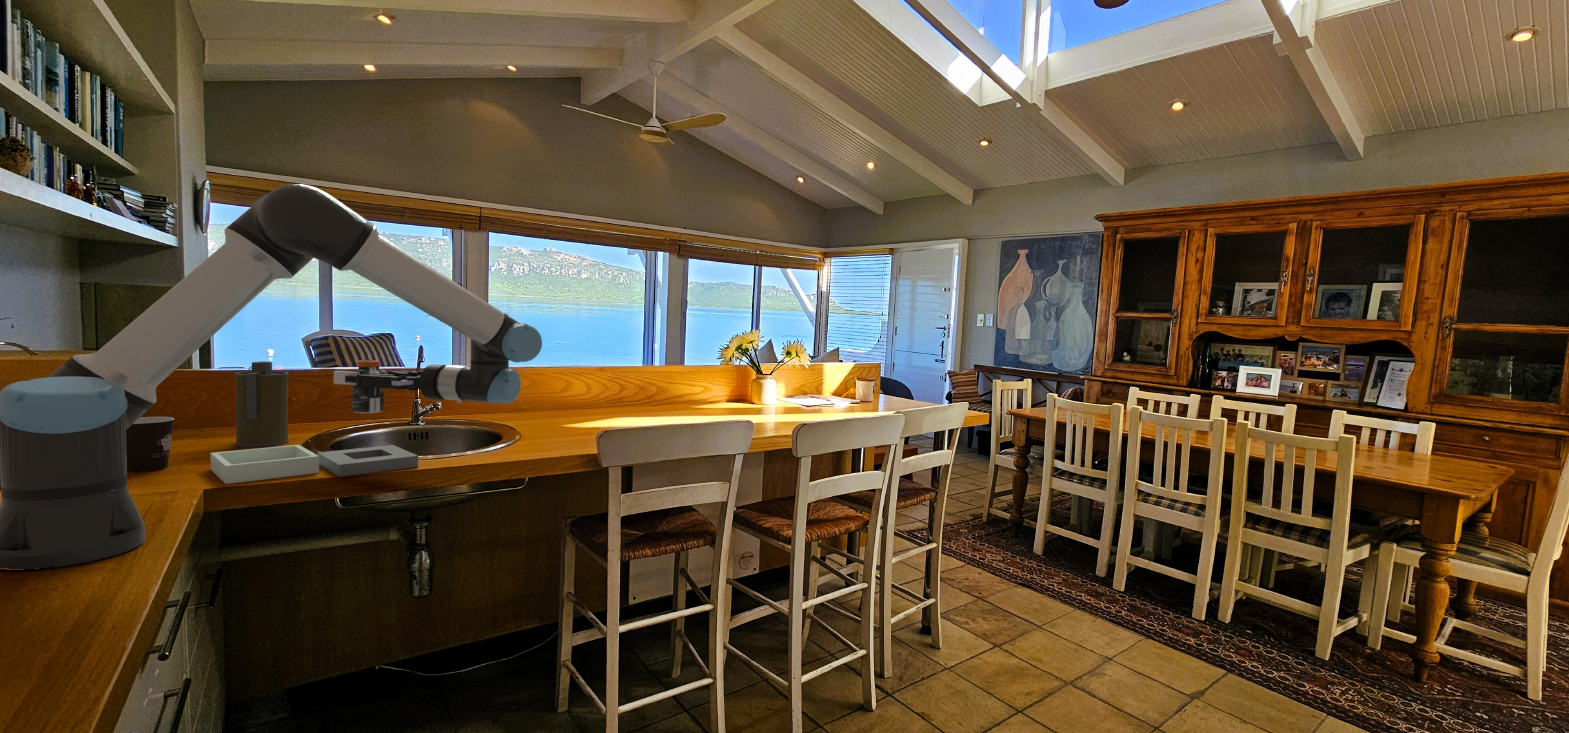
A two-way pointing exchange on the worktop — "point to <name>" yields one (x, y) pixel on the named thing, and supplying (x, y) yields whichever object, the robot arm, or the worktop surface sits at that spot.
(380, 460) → the socket block
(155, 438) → the coffee mug
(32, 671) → the worktop surface
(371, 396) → the pill bottle
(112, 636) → the worktop surface
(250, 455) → the parts tray
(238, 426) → the canister
